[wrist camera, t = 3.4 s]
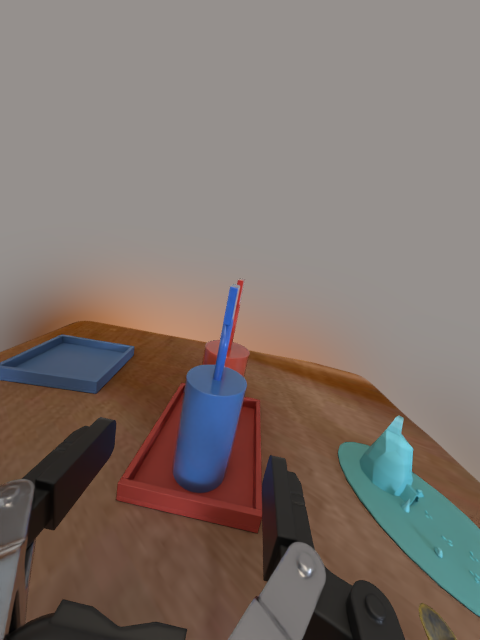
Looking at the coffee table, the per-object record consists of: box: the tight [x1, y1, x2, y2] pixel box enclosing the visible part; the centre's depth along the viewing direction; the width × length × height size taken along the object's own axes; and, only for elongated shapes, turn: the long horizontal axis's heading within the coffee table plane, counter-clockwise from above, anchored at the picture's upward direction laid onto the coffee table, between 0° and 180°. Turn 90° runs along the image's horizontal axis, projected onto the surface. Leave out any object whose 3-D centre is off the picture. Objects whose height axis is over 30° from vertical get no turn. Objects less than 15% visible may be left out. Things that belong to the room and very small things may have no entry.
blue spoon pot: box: [172, 284, 247, 493], centre depth 23 cm, size 6×6×20 cm
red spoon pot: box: [202, 279, 249, 377], centre depth 31 cm, size 6×6×20 cm
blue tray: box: [0, 335, 134, 394], centre depth 40 cm, size 14×14×2 cm
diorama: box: [338, 416, 480, 617], centre depth 25 cm, size 12×20×9 cm, turn 24°
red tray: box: [116, 383, 262, 533], centre depth 30 cm, size 18×13×2 cm
